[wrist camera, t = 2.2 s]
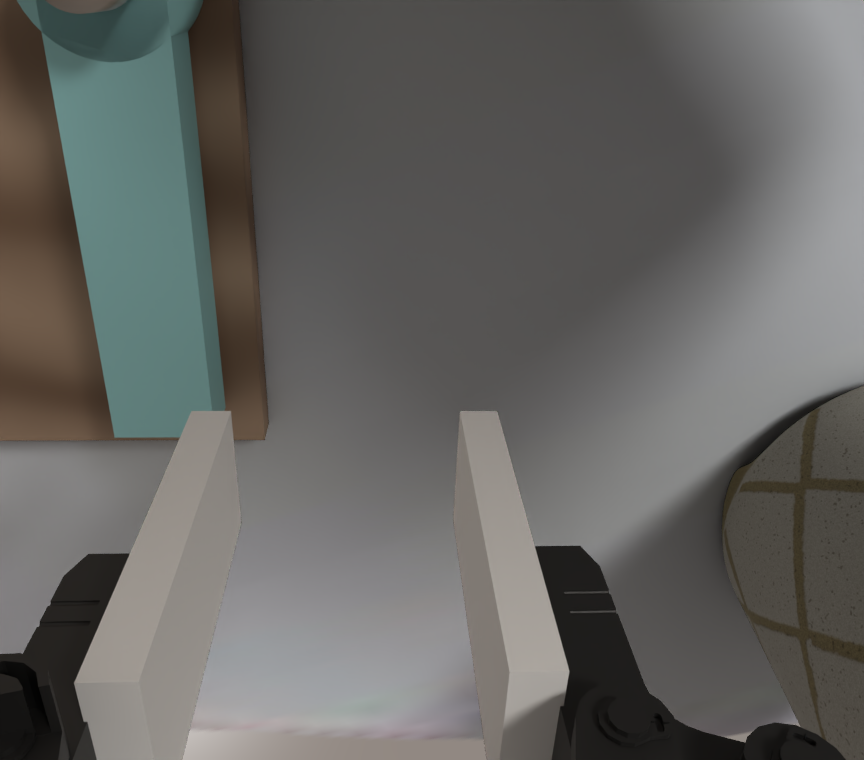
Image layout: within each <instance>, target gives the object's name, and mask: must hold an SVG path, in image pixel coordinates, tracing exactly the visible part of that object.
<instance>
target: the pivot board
mask: <svg viewBox="0 0 864 760" xmlns="http://www.w3.org/2000/svg"><path fill="white" fill-rule="evenodd" d="M45 1H47V2H48V3H49V4H51V5H52V6H54V7H56V8H58V9H60V10H62V11H65V12H69V13H74V14H86V13H94V12H103V11H109V10H113V9H116V8H118V7H120V6H121V5H123V4H124V3H125V2H126V1H127V0H45ZM188 37H189V47H190V57H191V67H192V77H193V87H194V97H195V107H196V117H197V127H198V137H199V147H200V157H201V167H202V177H203V187H204V197H205V207H206V217H207V227H208V237H209V247H210V257H211V267H212V277H213V287H214V297H215V306H216V316H217V326H218V336H219V346H220V356H221V366H222V376H223V386H224V396H225V406H226V408H225V410H224V411H231V418H232V428H233V438H234V440H265V436H266V432H267V428H268V424H269V420H268V406H267V392H266V378H265V364H264V350H263V336H262V322H261V308H260V294H259V280H258V266H257V252H256V238H255V224H254V210H253V196H252V182H251V168H250V154H249V139H248V125H247V111H246V97H245V83H244V69H243V55H242V41H241V27H240V13H239V0H203V4H202V7H201V9H200V12H199V15H198V17H197V18H196V20H195V22H194V24H193V25H192V27H191V28H190V29H189V31H188ZM179 439H180V437H134V438H115V436H114V431H113V425H112V420H111V414H110V409H109V403H108V398H107V392H106V387H105V381H104V376H103V370H102V364H101V359H100V353H99V348H98V342H97V337H96V331H95V326H94V320H93V315H92V309H91V303H90V298H89V292H88V287H87V281H86V276H85V270H84V265H83V259H82V254H81V248H80V243H79V237H78V231H77V226H76V220H75V215H74V209H73V204H72V198H71V193H70V187H69V182H68V176H67V171H66V165H65V159H64V154H63V148H62V143H61V137H60V132H59V126H58V121H57V115H56V110H55V104H54V98H53V93H52V87H51V82H50V76H49V71H48V65H47V60H46V54H45V49H44V43H43V38H42V32H41V31H40V30H39V29H38V28H37V27H36V26H35V25H34V24H33V23H32V21H31V20H30V19H29V17H28V16H27V15H26V14H25V12H24V11H23V10H22V8H21V6H20V5H19V3H18V2H17V0H0V441H20V440H179Z"/></svg>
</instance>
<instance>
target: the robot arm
mask: <svg viewBox="0 0 864 760" xmlns="http://www.w3.org/2000/svg"><path fill="white" fill-rule="evenodd" d="M241 523H242V521H241V510H240V500H239V490H238V480H237V469H236V459H235V449H234V438H233V428H232V418H231V411H191V413H190V416H189V418H188V420H187V422H186V425H185V427H184V429H183V432H182V434H181V436H180V439H179V441H178V443H177V446H176V448H175V450H174V453H173V455H172V457H171V460H170V462H169V464H168V467H167V469H166V471H165V473H164V476H163V478H162V480H161V483H160V485H159V487H158V490H157V492H156V494H155V497H154V499H153V501H152V504H151V506H150V508H149V511H148V513H147V515H146V518H145V520H144V522H143V524H142V527H141V529H140V531H139V534H138V536H137V538H136V541H135V543H134V545H133V548H132V550H131V552H130V554H88V555H87V556H86V557H85V558H83V559H82V560H81V561H80V562H79V563H78V564H77V565H76V566H75V567H73V568H72V569H71V570H70V571H69V572H68V573H67V574H66V575H64V577H63V579H62V581H61V582H60V584H59V586H58V588H57V590H56V592H55V594H54V596H53V598H52V600H51V605H50V606H48V607H47V609H46V611H45V613H44V615H43V617H42V619H41V620H40V626H39V627H37V628H36V630H35V632H34V634H33V636H32V638H31V639H30V641H29V643H28V645H27V647H26V649H25V651H24V653H23V654H21V653H16V654H0V760H182V759H183V755H184V750H185V747H186V743H187V738H188V735H189V731H190V727H191V723H192V719H193V715H194V711H195V707H196V703H197V699H198V695H199V691H200V687H201V683H202V679H203V675H204V671H205V667H206V663H207V659H208V655H209V651H210V647H211V643H212V639H213V635H214V631H215V627H216V623H217V619H218V615H219V611H220V607H221V603H222V599H223V595H224V591H225V587H226V583H227V579H228V575H229V571H230V567H231V563H232V559H233V555H234V551H235V547H236V543H237V539H238V535H239V531H240V527H241ZM453 523H454V530H455V537H456V544H457V551H458V558H459V566H460V573H461V580H462V587H463V594H464V601H465V608H466V616H467V623H468V630H469V637H470V644H471V651H472V658H473V666H474V673H475V680H476V687H477V694H478V701H479V708H480V716H481V723H482V730H483V737H484V744H485V751H486V758H487V760H846V759H845V758H844V757H843V756H842V754H841V753H840V752H839V751H838V750H837V748H835V747H834V746H833V745H831V744H830V743H828V742H827V741H826V740H824V739H823V738H822V737H820V736H819V735H818V734H816V733H813V732H811V731H808V730H806V729H804V728H801V727H799V726H796V725H790V724H782V723H772V724H768V725H764V726H759V727H758V728H757V729H755V730H754V731H753V732H752V733H751V734H750V735H749V736H748V737H747V740H746V743H744V742H740V741H736V740H732V739H728V738H725V737H721V736H717V735H713V734H709V733H705V732H702V731H699V730H696V729H694V728H691V727H688V726H686V725H684V724H683V723H681V722H679V721H677V720H676V719H674V717H673V715H672V714H671V713H670V711H669V710H668V709H667V708H666V707H665V706H664V704H663V703H662V702H661V701H660V700H659V699H657V698H656V697H654V696H652V695H651V694H649V692H648V690H647V688H646V686H645V684H644V682H643V679H642V677H641V674H640V671H639V669H638V666H637V663H636V661H635V658H634V655H633V653H632V650H631V648H630V645H629V642H628V640H627V637H626V634H625V632H624V629H623V626H622V624H621V621H620V618H619V616H618V614H616V608H615V605H614V603H613V600H612V597H611V595H610V594H609V592H608V591H609V589H608V587H607V584H606V582H605V579H604V576H603V574H602V571H601V568H600V566H599V565H598V564H597V563H596V562H595V561H594V560H593V559H592V558H591V557H590V556H589V555H588V554H587V553H586V551H585V550H584V549H583V548H582V547H581V546H535V545H534V542H533V538H532V534H531V531H530V527H529V524H528V520H527V516H526V513H525V509H524V506H523V502H522V498H521V495H520V491H519V488H518V484H517V480H516V477H515V473H514V470H513V466H512V462H511V459H510V455H509V452H508V448H507V444H506V441H505V437H504V434H503V430H502V426H501V423H500V419H499V416H498V412H497V411H460V416H459V432H458V449H457V465H456V482H455V498H454V514H453Z"/></svg>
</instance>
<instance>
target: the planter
mask: <svg viewBox="0 0 864 760" xmlns="http://www.w3.org/2000/svg"><path fill="white" fill-rule="evenodd" d="M722 545H723V555H724V561H725V565H726V569H727V573H728V576H729V579H730V582H731V584H732V587H733V589H734V591H735V593H736V595H737V598H738V600H739V602H740V604H741V606H742V608H743V610H744V612H745V614H746V616H747V618H748V620H749V622H750V624H751V626H752V628H753V630H754V632H755V634H756V636H757V638H758V640H759V642H760V644H761V646H762V648H763V650H764V652H765V654H766V656H767V658H768V660H769V662H770V664H771V666H772V668H773V670H774V672H775V675H776V677H777V679H778V681H779V683H780V685H781V687H782V689H783V691H784V693H785V695H786V697H787V699H788V701H789V703H790V705H791V708H792V710H793V712H794V714H795V716H796V718H797V720H798V722H799V724H800V726H801V728H804V729H806V730H808V731H811V732H813V733H816V734H818V735H819V736H820V737H822V738H823V739H824V740H826V741H827V742H828V743H830V744H831V745H833V746H834V747H835V748H837V750H838V751H839V752H840V753H841V754H842V756H843V757H844V758H845V759H846V760H864V386H862V387H859V388H857V389H854V390H851V391H849V392H847V393H845V394H842V395H840V396H838V397H836V398H834V399H832V400H830V401H829V402H827V403H825V404H823V405H821V406H820V407H818V408H816V409H815V410H813V411H812V412H810V413H808V414H807V415H806V416H804V417H803V418H801V419H800V420H798V421H797V422H796V423H795V424H793V425H792V426H791V427H790V428H788V429H787V430H786V431H785V432H784V433H783V434H781V435H780V436H779V437H778V438H777V439H776V440H775V441H774V442H773V443H772V444H771V445H770V446H769V447H768V448H767V449H766V450H765V451H764V452H763V453H762V454H761V455H760V456H759V457H758V458H756V459H755V460H754V461H753V462H752V463H750V464H748V465H745V466H743V467H741V468H739V469H738V470H737V471H736V472H735V473H734V475H733V477H732V479H731V481H730V484H729V487H728V490H727V494H726V498H725V502H724V508H723V516H722Z"/></svg>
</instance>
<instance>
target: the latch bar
mask: <svg viewBox="0 0 864 760" xmlns="http://www.w3.org/2000/svg"><path fill="white" fill-rule="evenodd" d="M17 2H18V3H19V5H20V6H21V8H22V10H23V11H24V12H25V14H26V15H27V16H28V17H29V19H30V20H31V21H32V23H33V24H34V25H35V26H36V27H37V28H38V29H39V30H40V31H41V32H42V38H43V43H44V49H45V54H46V60H47V65H48V71H49V76H50V82H51V87H52V93H53V98H54V104H55V110H56V115H57V121H58V126H59V132H60V137H61V143H62V148H63V154H64V159H65V165H66V171H67V176H68V182H69V187H70V193H71V198H72V204H73V209H74V215H75V220H76V226H77V231H78V237H79V243H80V248H81V254H82V259H83V265H84V270H85V276H86V281H87V287H88V292H89V298H90V303H91V309H92V315H93V320H94V326H95V331H96V337H97V342H98V348H99V353H100V359H101V364H102V370H103V376H104V381H105V387H106V392H107V398H108V403H109V409H110V414H111V420H112V425H113V431H114V436H115V438H134V437H180V436H181V434H182V432H183V429H184V427H185V425H186V422H187V420H188V418H189V416H190V413H191V411H224V410H225V408H226V406H225V396H224V386H223V376H222V366H221V356H220V346H219V336H218V326H217V316H216V306H215V297H214V287H213V277H212V267H211V257H210V247H209V237H208V227H207V217H206V207H205V197H204V187H203V177H202V167H201V157H200V147H199V137H198V127H197V117H196V107H195V97H194V87H193V77H192V67H191V57H190V47H189V37H188V31H189V29H190V28H191V27H192V25H193V24H194V22H195V20H196V18H197V17H198V15H199V12H200V9H201V7H202V4H203V0H127V1H126V2H125V3H124V4H123V5H121V6H120V7H118V8H116V9H113V10H109V11H103V12H94V13H86V14H74V13H69V12H65V11H62V10H60V9H58V8H56V7H54V6H52V5H51V4H49V3H48V2H47V1H45V0H17Z"/></svg>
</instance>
